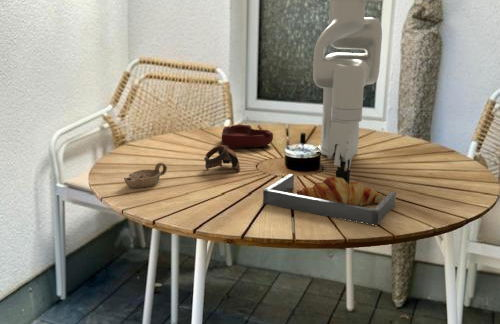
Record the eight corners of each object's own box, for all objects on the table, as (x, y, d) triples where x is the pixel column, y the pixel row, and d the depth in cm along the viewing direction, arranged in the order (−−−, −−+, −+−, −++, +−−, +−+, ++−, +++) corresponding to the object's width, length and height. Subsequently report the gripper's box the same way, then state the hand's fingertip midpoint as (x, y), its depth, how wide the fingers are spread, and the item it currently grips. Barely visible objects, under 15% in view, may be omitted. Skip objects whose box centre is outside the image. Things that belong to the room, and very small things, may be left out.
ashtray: (205, 144, 199) (205, 129, 197) (242, 136, 209) (242, 123, 208) (240, 155, 186) (240, 140, 185) (277, 146, 197) (277, 132, 195)
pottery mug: (242, 176, 166) (228, 154, 162) (212, 188, 168) (198, 166, 165) (244, 155, 176) (231, 133, 173) (216, 166, 179) (203, 145, 175)
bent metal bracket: (289, 186, 157) (289, 173, 156) (394, 205, 144) (396, 192, 143) (263, 203, 144) (263, 189, 143) (376, 226, 131) (377, 211, 130)
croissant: (378, 212, 149) (377, 181, 151) (388, 207, 139) (387, 174, 141) (294, 210, 149) (294, 178, 150) (298, 205, 139) (298, 171, 141)
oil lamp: (133, 193, 150) (132, 174, 149) (117, 186, 155) (116, 168, 154) (174, 182, 159) (174, 165, 157) (158, 176, 164) (158, 159, 163)
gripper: (342, 107, 153) (338, 174, 159) (320, 117, 141) (317, 190, 146) (370, 110, 150) (365, 179, 155) (350, 121, 137) (346, 195, 143)
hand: (342, 184), depth 151 cm, fingers closed
